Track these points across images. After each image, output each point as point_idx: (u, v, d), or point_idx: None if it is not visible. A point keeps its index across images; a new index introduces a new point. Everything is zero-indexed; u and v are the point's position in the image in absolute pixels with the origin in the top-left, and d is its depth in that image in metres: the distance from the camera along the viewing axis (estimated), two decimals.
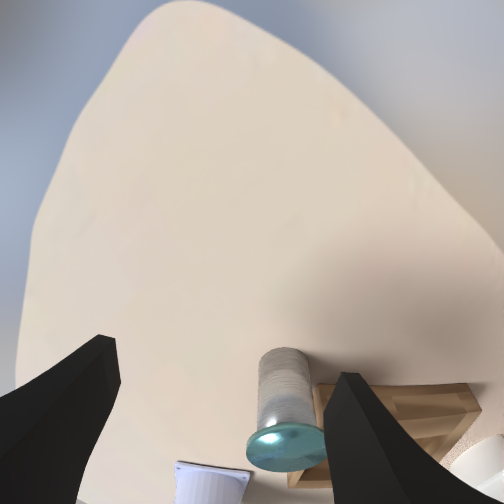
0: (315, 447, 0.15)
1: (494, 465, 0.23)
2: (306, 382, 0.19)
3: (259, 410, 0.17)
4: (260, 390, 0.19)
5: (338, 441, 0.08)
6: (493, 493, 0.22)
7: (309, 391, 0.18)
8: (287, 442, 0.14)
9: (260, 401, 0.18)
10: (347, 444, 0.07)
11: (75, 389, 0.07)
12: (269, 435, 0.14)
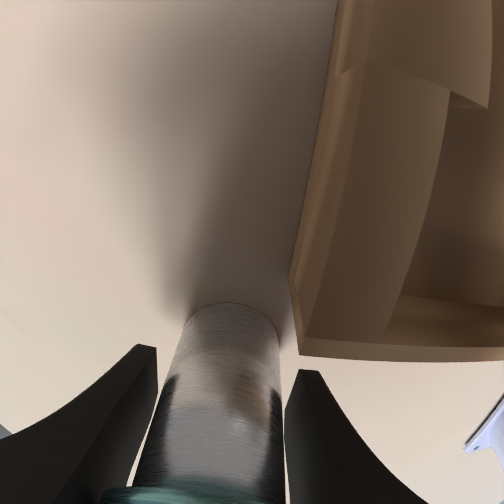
0: None
1: None
2: (174, 371, 0.08)
3: None
4: None
5: (294, 440, 0.08)
6: None
7: (175, 384, 0.08)
8: None
9: None
10: (300, 444, 0.07)
11: (124, 404, 0.07)
12: None
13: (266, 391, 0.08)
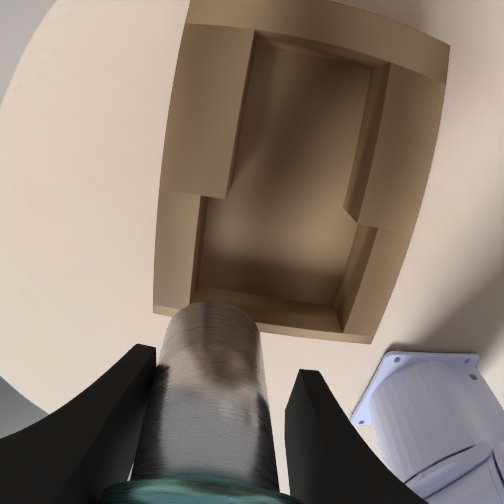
0: None
1: None
2: (163, 368, 0.08)
3: None
4: None
5: (294, 440, 0.08)
6: None
7: (166, 379, 0.08)
8: None
9: None
10: (301, 444, 0.07)
11: (123, 403, 0.07)
12: None
13: (254, 385, 0.08)
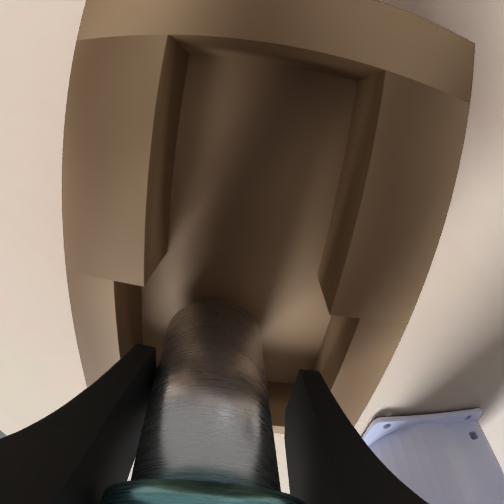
0: None
1: None
2: (164, 367, 0.08)
3: None
4: None
5: (294, 440, 0.08)
6: None
7: (166, 379, 0.08)
8: None
9: None
10: (301, 444, 0.07)
11: (123, 403, 0.07)
12: None
13: (255, 385, 0.08)
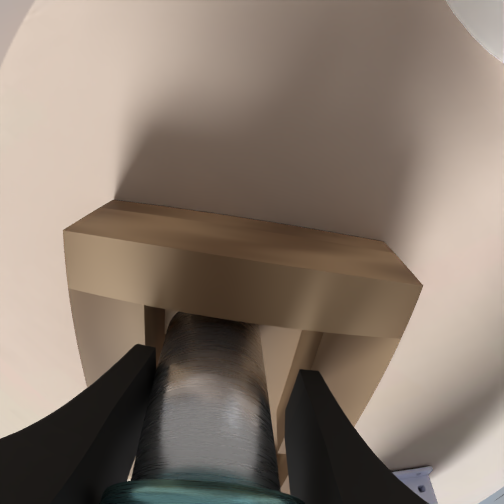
0: None
1: None
2: (164, 367, 0.08)
3: None
4: None
5: (294, 440, 0.08)
6: None
7: (166, 379, 0.08)
8: None
9: None
10: (301, 444, 0.07)
11: (123, 403, 0.07)
12: None
13: (255, 385, 0.08)
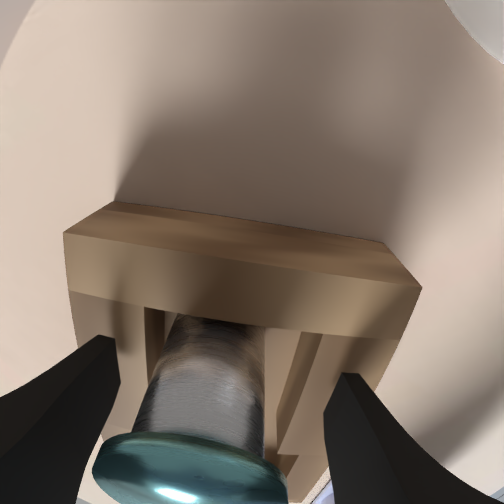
0: (149, 474, 0.05)
1: None
2: (169, 343, 0.09)
3: None
4: None
5: (338, 441, 0.08)
6: None
7: (170, 353, 0.09)
8: (137, 496, 0.06)
9: None
10: (347, 444, 0.07)
11: (75, 389, 0.07)
12: (121, 502, 0.06)
13: (250, 363, 0.09)
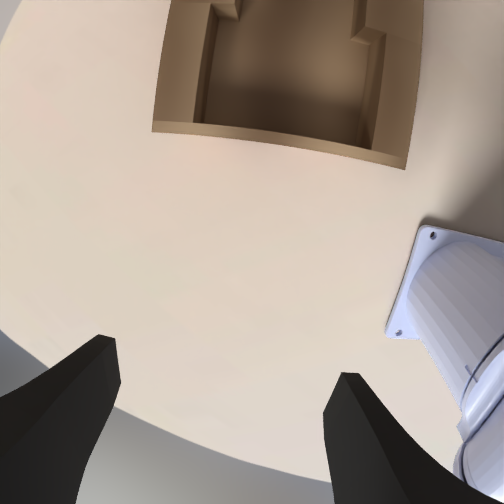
0: None
1: None
2: None
3: None
4: None
5: (338, 441, 0.08)
6: None
7: None
8: None
9: None
10: (347, 444, 0.07)
11: (75, 389, 0.07)
12: None
13: None
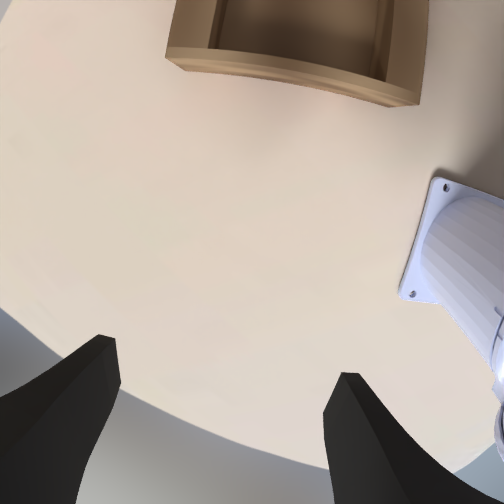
0: None
1: None
2: None
3: None
4: None
5: (338, 441, 0.08)
6: None
7: None
8: None
9: None
10: (347, 444, 0.07)
11: (75, 389, 0.07)
12: None
13: None
